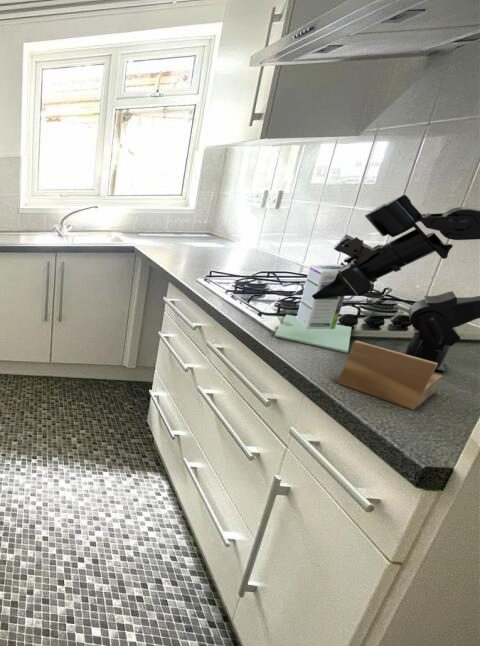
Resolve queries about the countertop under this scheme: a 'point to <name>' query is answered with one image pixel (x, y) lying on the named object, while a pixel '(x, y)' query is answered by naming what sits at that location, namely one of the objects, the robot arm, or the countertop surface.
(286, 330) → the mat
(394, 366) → the stand
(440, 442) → the countertop surface
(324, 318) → the syrup box
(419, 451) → the countertop surface
